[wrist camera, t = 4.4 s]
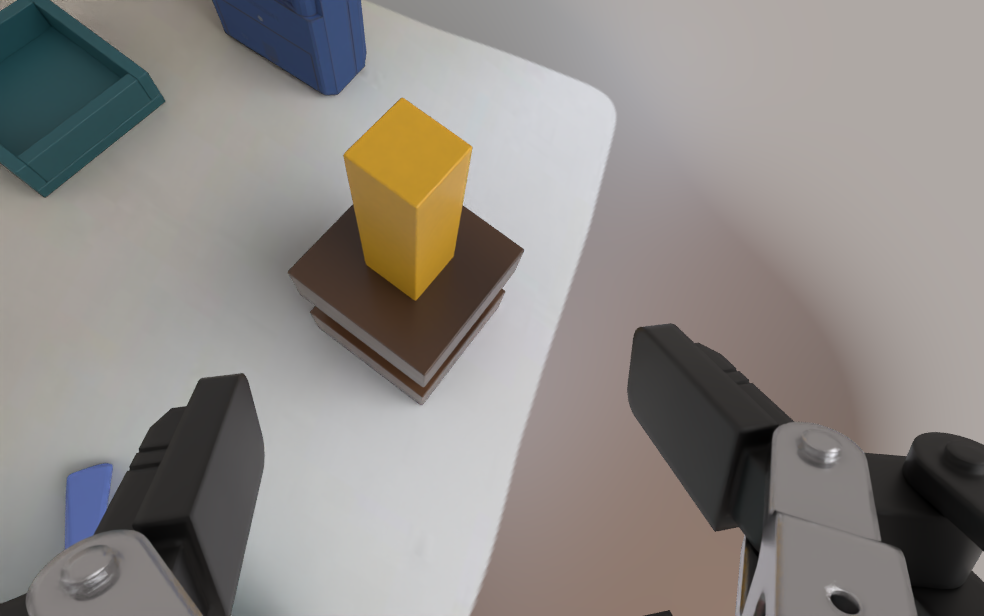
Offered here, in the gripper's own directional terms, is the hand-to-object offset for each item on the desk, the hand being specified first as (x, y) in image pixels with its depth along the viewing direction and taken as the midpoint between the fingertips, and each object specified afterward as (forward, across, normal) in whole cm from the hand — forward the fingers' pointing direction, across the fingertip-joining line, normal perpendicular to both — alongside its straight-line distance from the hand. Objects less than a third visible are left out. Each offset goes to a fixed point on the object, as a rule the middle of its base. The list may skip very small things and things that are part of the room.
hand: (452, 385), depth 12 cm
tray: (+34, +21, -2) cm, 40 cm away
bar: (+15, 0, +3) cm, 16 cm away
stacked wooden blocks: (+22, 0, +10) cm, 24 cm away
